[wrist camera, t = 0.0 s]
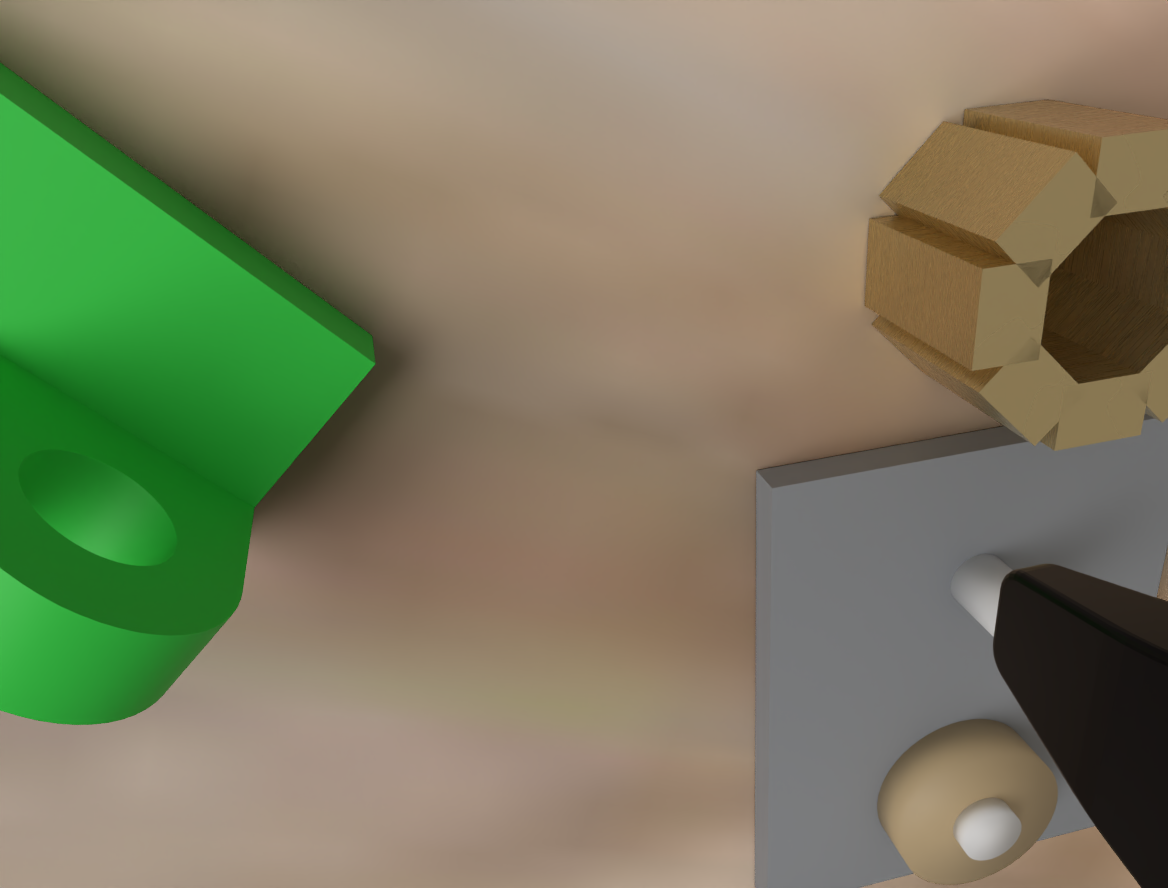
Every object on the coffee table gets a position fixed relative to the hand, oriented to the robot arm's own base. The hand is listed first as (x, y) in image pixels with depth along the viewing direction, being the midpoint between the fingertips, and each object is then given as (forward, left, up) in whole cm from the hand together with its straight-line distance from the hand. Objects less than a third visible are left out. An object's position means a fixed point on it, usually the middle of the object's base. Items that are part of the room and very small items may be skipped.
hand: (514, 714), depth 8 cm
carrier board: (-14, -14, -14) cm, 24 cm away
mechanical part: (+1, +7, -15) cm, 17 cm away
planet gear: (-1, -14, -14) cm, 20 cm away
